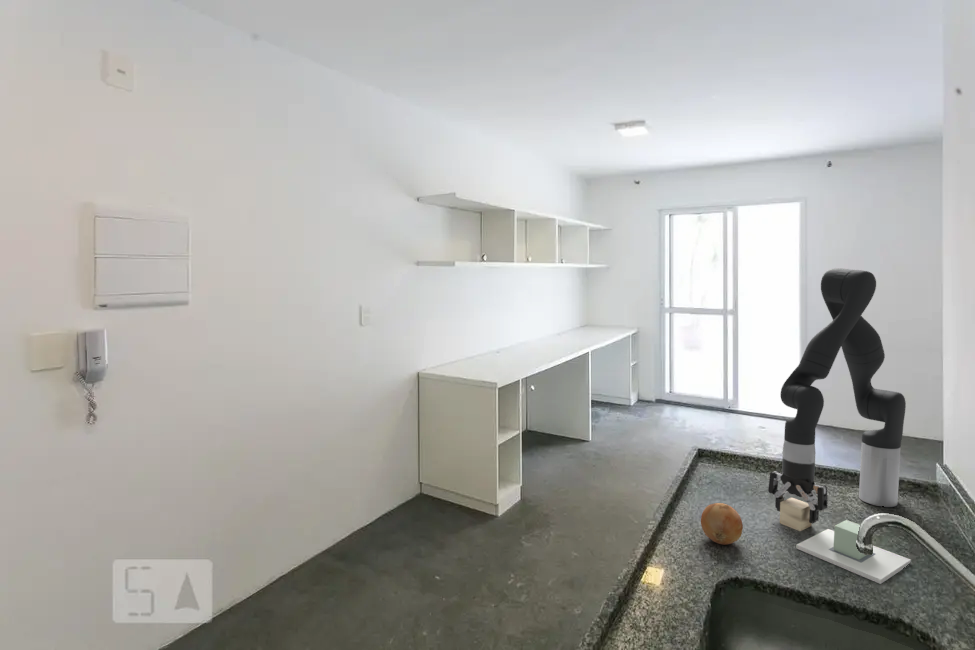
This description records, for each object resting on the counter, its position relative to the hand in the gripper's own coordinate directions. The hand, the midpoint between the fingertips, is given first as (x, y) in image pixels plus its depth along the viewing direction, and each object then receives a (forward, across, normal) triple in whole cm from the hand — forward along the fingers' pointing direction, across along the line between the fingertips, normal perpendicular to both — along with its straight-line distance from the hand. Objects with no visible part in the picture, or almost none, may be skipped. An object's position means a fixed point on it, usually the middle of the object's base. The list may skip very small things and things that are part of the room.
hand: (795, 516), depth 142 cm
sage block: (+1, -16, +5) cm, 16 cm away
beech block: (+3, 0, 0) cm, 3 cm away
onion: (+3, +5, +25) cm, 25 cm away
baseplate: (+2, -16, +5) cm, 17 cm away
